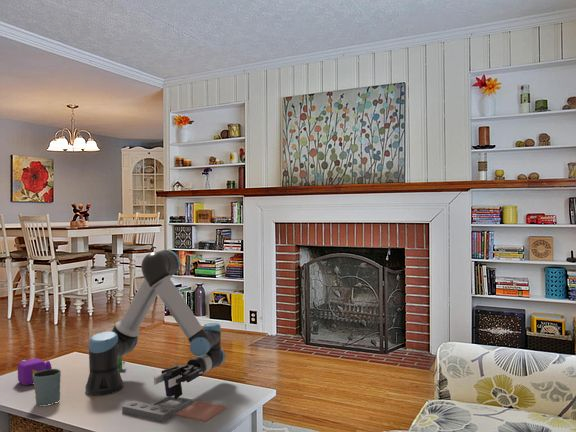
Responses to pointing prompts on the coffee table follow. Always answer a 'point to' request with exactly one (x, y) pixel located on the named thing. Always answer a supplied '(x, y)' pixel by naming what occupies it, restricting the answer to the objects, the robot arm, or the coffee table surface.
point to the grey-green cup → (47, 386)
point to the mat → (201, 411)
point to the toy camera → (31, 369)
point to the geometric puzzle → (120, 363)
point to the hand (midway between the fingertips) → (162, 382)
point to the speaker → (173, 390)
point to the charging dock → (154, 409)
